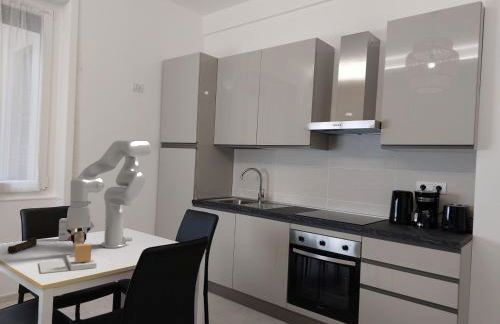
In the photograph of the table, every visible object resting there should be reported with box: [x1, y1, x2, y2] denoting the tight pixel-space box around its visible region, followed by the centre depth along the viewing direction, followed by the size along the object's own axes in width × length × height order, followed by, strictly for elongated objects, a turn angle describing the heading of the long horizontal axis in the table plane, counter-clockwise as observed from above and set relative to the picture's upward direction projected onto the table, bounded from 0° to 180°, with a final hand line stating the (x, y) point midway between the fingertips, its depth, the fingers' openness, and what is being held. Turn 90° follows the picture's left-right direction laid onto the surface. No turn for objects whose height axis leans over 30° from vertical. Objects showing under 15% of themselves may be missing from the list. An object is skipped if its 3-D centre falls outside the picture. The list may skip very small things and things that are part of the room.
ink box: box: [58, 217, 78, 242], centre depth 211 cm, size 9×5×12 cm, turn 101°
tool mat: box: [38, 259, 69, 275], centre depth 161 cm, size 10×16×1 cm, turn 32°
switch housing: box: [65, 254, 97, 271], centre depth 168 cm, size 10×18×2 cm, turn 32°
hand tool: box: [7, 236, 38, 255], centre depth 188 cm, size 19×4×5 cm, turn 174°
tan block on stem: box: [72, 230, 85, 248], centre depth 178 cm, size 4×14×6 cm, turn 31°
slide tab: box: [74, 243, 92, 263], centre depth 164 cm, size 6×3×7 cm, turn 122°
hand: (78, 241), depth 182 cm, fingers closed on tan block on stem, 4 cm apart
